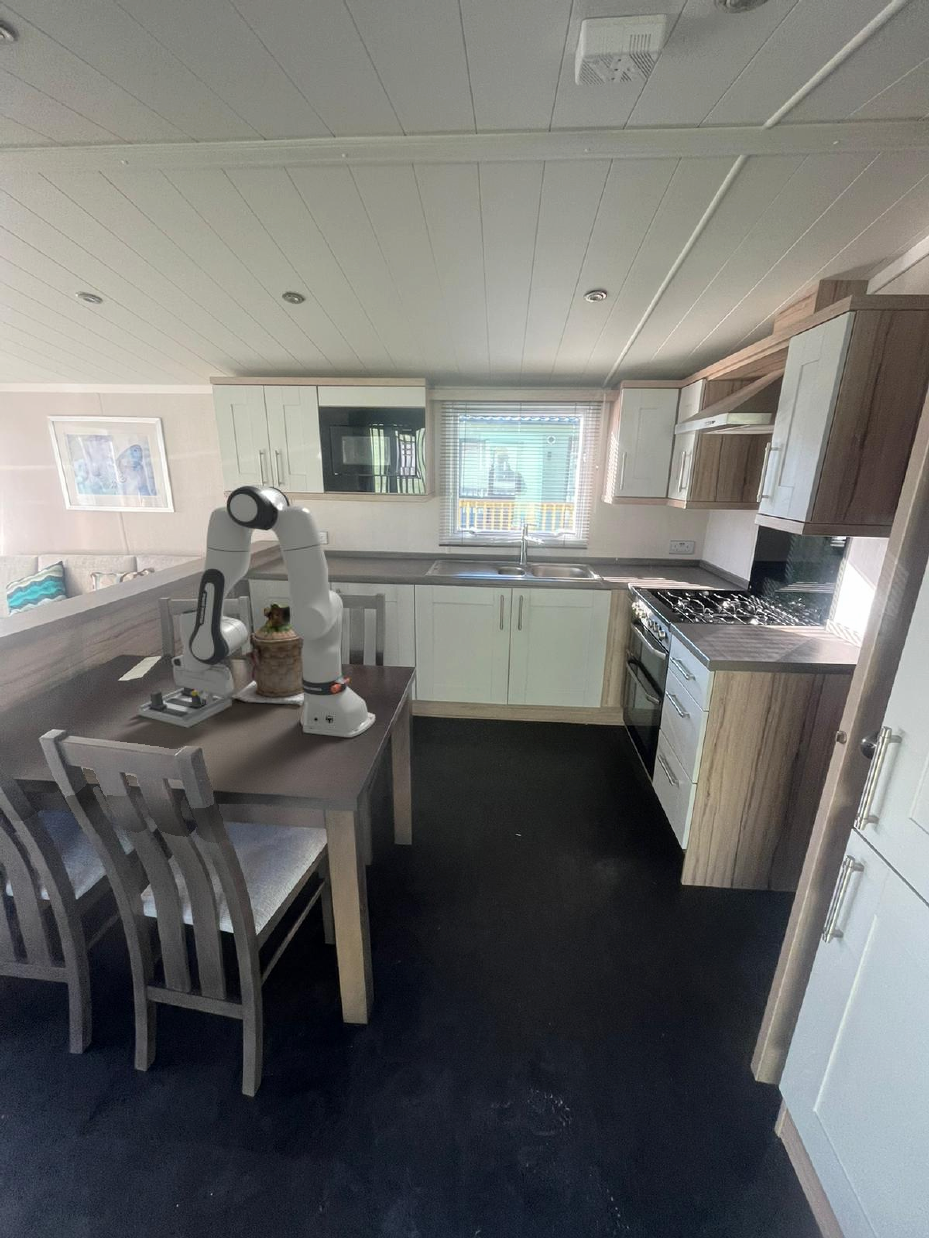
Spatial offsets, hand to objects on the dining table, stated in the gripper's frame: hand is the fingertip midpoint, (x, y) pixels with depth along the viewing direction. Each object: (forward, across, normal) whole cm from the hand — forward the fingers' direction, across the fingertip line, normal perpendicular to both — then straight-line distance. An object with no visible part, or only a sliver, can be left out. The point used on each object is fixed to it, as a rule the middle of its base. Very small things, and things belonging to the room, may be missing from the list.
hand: (206, 702), depth 144 cm
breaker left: (+2, +14, +5) cm, 15 cm away
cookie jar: (+4, -8, -24) cm, 26 cm away
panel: (+4, +9, 0) cm, 10 cm away
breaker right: (+2, +14, -6) cm, 15 cm away
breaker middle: (+2, +4, 0) cm, 4 cm away
